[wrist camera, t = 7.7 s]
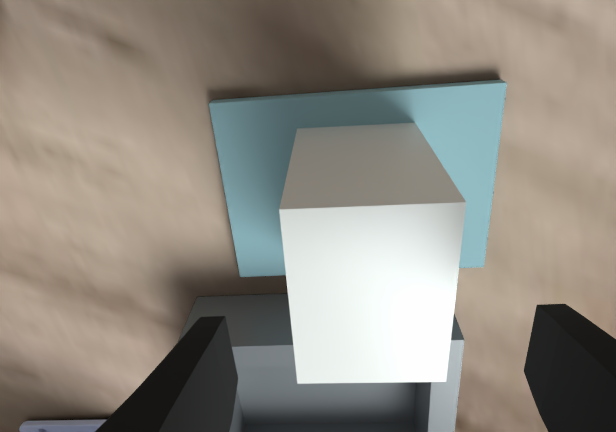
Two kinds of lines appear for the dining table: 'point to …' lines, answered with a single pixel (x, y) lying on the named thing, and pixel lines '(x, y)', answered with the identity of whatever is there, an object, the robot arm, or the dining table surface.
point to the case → (318, 396)
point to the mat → (351, 112)
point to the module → (370, 255)
